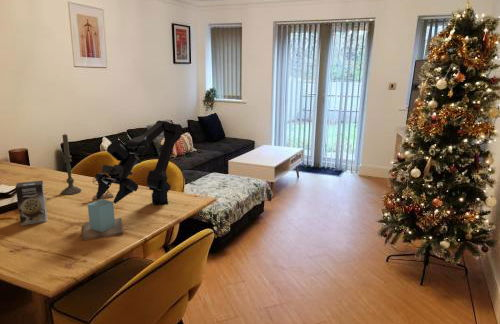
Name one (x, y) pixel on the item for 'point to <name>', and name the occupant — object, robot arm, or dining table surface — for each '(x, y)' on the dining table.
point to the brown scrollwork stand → (103, 194)
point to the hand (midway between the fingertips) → (105, 200)
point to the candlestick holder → (68, 170)
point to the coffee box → (31, 202)
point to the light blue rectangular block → (101, 215)
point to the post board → (112, 231)
